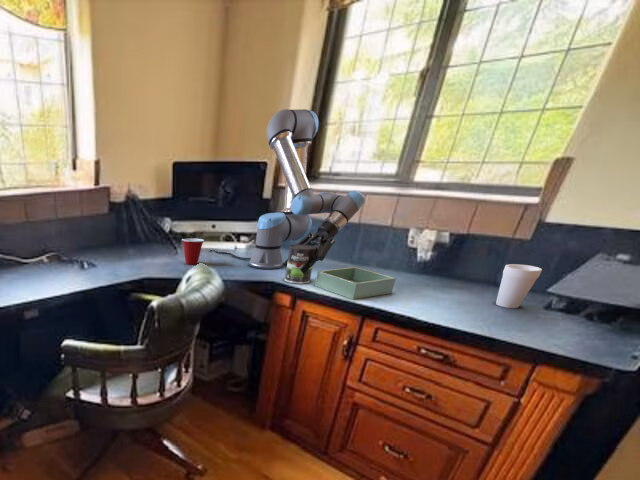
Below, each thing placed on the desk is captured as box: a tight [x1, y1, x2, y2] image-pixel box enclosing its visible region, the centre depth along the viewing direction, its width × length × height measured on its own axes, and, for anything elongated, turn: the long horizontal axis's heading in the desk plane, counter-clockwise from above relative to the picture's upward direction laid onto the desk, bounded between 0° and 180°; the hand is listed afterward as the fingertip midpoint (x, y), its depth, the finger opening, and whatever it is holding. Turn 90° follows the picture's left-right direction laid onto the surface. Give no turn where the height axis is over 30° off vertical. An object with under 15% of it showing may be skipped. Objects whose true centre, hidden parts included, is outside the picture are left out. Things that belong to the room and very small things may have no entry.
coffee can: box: [284, 243, 317, 285], centre depth 175 cm, size 10×10×14 cm
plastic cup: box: [181, 237, 205, 266], centre depth 208 cm, size 11×11×12 cm
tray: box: [314, 266, 397, 300], centre depth 165 cm, size 20×19×6 cm
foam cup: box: [495, 263, 543, 309], centre depth 143 cm, size 10×9×13 cm
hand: (293, 268), depth 175 cm, fingers closed on coffee can, 10 cm apart
